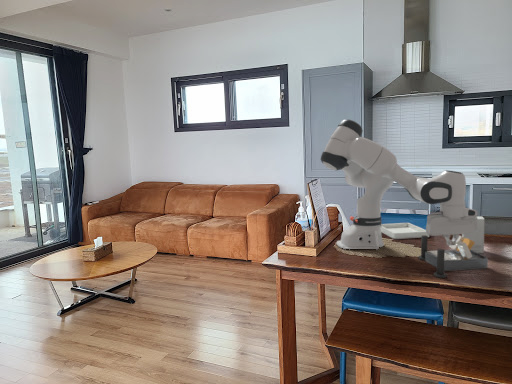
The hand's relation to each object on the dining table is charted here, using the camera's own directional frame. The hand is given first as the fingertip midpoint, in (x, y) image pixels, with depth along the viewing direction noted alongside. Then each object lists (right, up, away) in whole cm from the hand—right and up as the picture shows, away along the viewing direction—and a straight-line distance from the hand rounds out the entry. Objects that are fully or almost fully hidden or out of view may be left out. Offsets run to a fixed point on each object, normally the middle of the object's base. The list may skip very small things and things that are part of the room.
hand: (451, 244), depth 147 cm
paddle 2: (+4, -5, -5) cm, 8 cm away
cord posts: (-8, -9, -1) cm, 12 cm away
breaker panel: (+2, -8, +1) cm, 8 cm away
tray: (+1, -1, +53) cm, 54 cm away
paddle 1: (+3, -3, +5) cm, 7 cm away
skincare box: (+19, -6, +17) cm, 26 cm away
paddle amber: (+4, -4, 0) cm, 5 cm away
